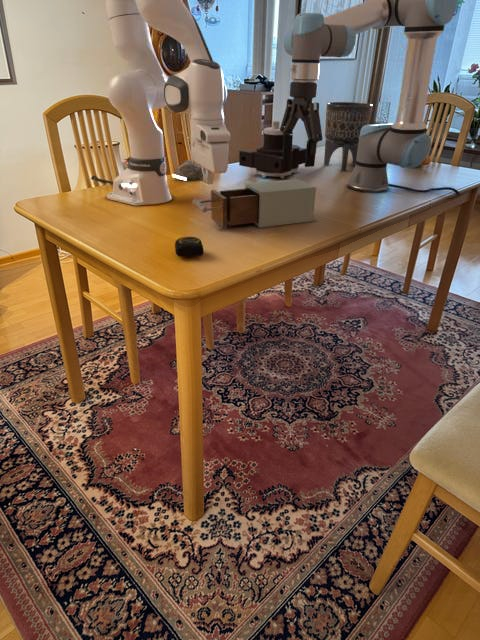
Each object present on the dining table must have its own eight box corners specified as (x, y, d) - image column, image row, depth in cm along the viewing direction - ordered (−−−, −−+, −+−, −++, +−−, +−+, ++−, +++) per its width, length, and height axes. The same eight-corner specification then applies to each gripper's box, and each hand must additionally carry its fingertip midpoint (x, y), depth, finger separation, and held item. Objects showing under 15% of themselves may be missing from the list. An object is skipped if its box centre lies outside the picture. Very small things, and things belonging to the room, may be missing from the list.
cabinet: (259, 227, 134) (260, 192, 128) (244, 216, 142) (245, 183, 137) (312, 221, 140) (316, 187, 135) (295, 211, 149) (297, 178, 144)
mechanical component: (240, 120, 182) (283, 115, 202) (239, 174, 192) (280, 164, 212) (283, 126, 170) (325, 120, 190) (280, 183, 180) (320, 171, 200)
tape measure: (175, 260, 111) (175, 246, 109) (175, 250, 116) (174, 236, 115) (203, 259, 112) (203, 245, 110) (201, 249, 117) (201, 235, 116)
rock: (199, 173, 191) (199, 157, 188) (212, 178, 186) (211, 161, 182) (172, 178, 184) (171, 161, 180) (185, 183, 178) (184, 165, 175)
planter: (313, 167, 208) (319, 103, 195) (331, 160, 222) (338, 101, 209) (353, 173, 199) (362, 107, 185) (369, 166, 213) (379, 104, 199)
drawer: (203, 230, 128) (202, 200, 123) (192, 220, 135) (191, 191, 131) (276, 221, 136) (277, 193, 131) (262, 212, 143) (263, 185, 139)
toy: (405, 159, 210) (400, 152, 223) (408, 173, 213) (402, 165, 226) (431, 151, 207) (424, 145, 219) (433, 165, 210) (426, 158, 222)
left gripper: (184, 125, 127) (186, 176, 134) (209, 136, 111) (210, 193, 118) (205, 124, 129) (206, 174, 136) (232, 135, 113) (232, 191, 120)
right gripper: (271, 79, 132) (267, 154, 143) (316, 83, 113) (308, 171, 123) (293, 79, 135) (288, 153, 146) (341, 83, 115) (331, 169, 126)
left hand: (208, 183), depth 127 cm, fingers closed
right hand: (297, 162), depth 135 cm, fingers open, 13 cm apart
